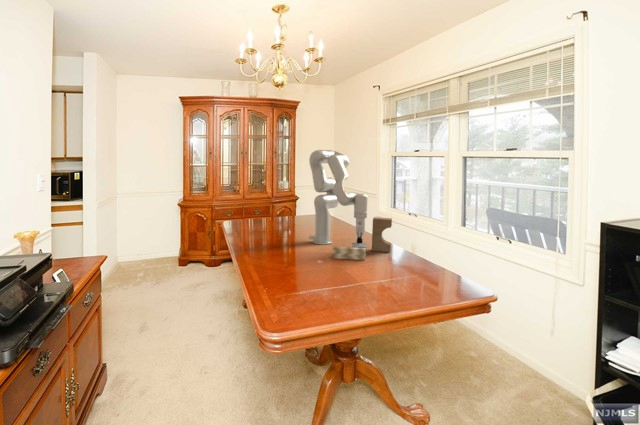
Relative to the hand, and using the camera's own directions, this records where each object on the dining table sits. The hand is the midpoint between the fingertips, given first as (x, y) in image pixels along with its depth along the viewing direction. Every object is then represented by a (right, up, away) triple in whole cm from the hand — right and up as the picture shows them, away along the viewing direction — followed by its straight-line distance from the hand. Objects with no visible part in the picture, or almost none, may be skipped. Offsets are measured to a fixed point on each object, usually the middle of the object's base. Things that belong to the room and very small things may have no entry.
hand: (359, 245), depth 215 cm
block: (-1, -5, -5) cm, 7 cm away
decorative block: (+14, -4, +4) cm, 15 cm away
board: (-7, -6, -12) cm, 16 cm away
